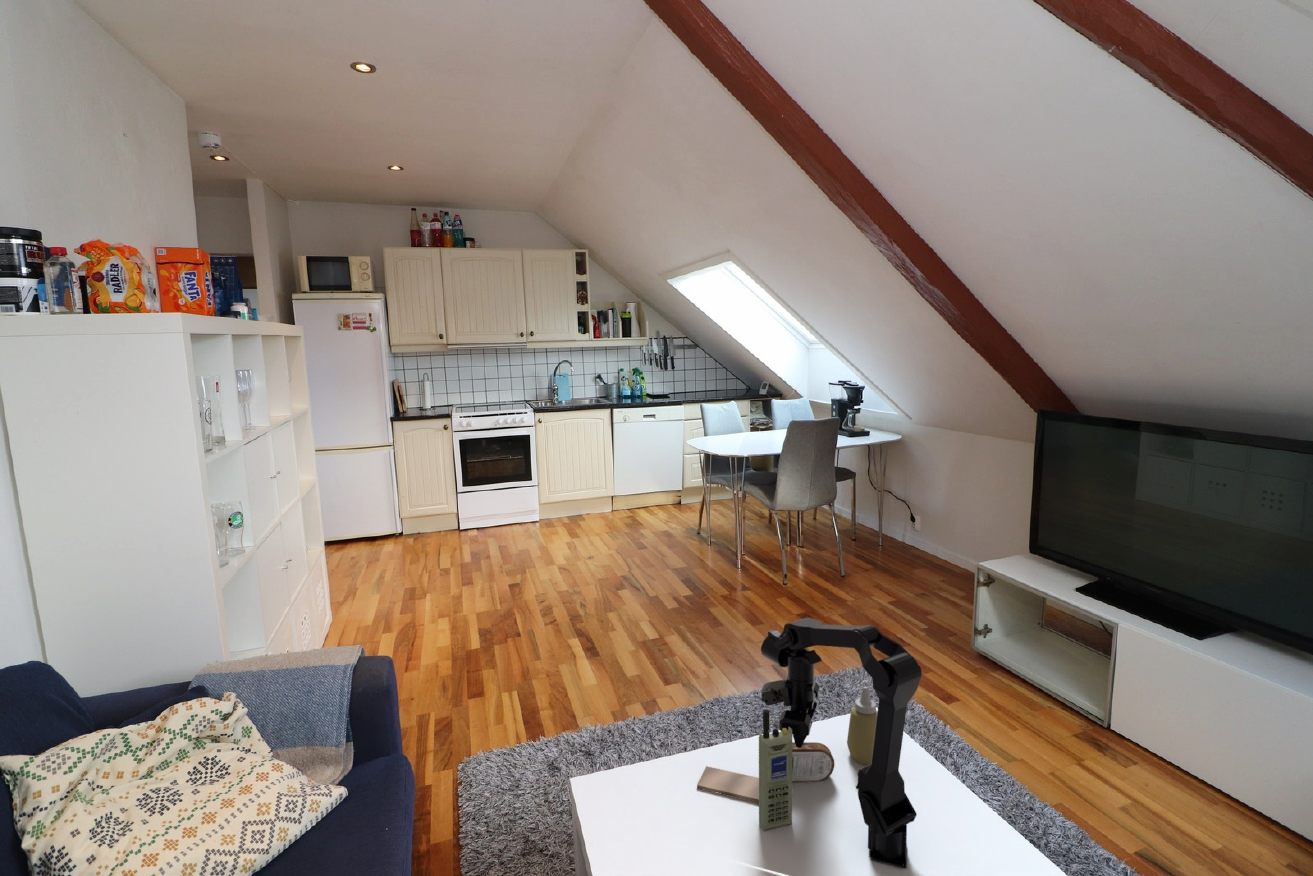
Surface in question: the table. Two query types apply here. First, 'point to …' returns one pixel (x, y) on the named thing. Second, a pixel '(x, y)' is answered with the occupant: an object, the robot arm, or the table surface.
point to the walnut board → (730, 784)
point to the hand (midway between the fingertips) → (800, 741)
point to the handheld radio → (775, 776)
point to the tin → (811, 762)
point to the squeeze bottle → (862, 728)
